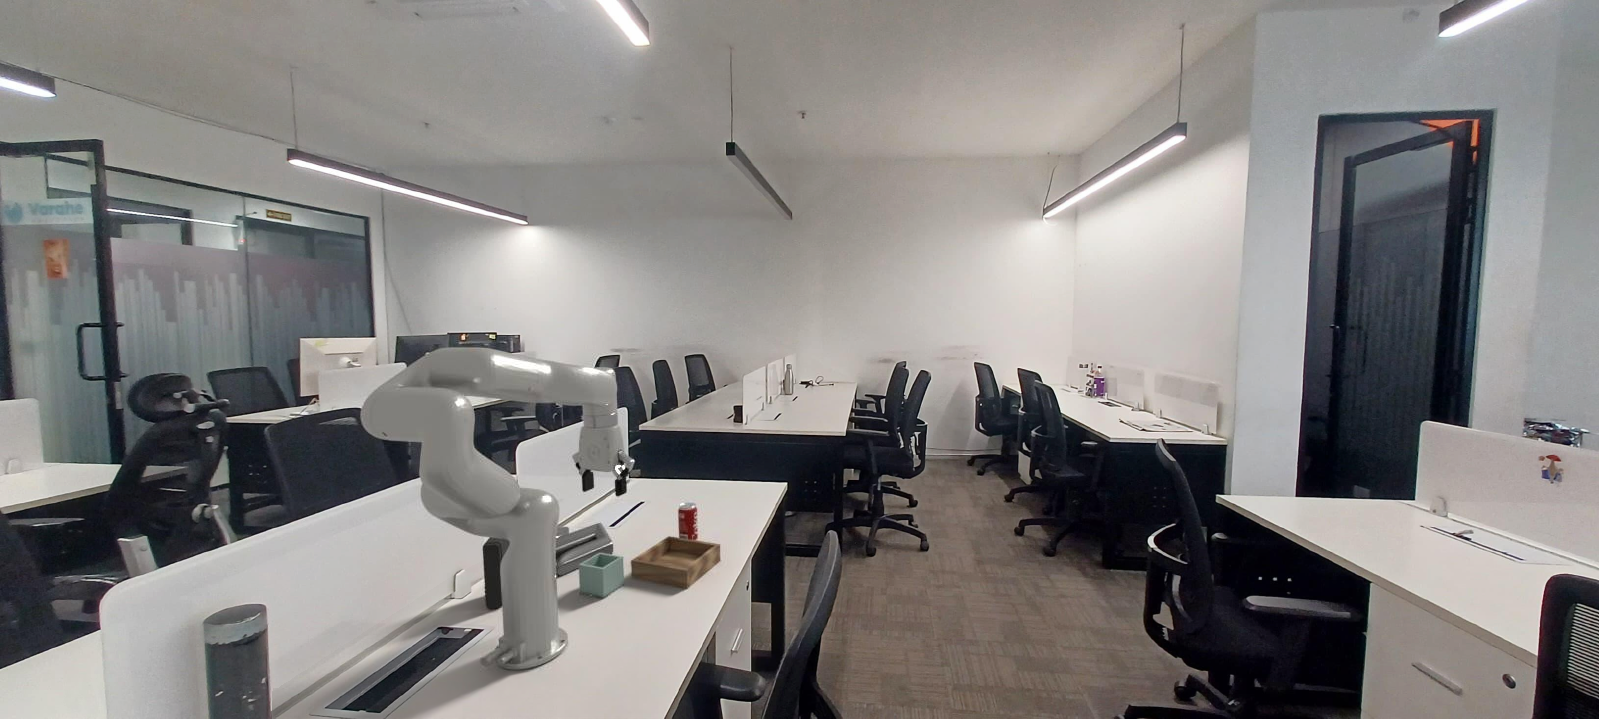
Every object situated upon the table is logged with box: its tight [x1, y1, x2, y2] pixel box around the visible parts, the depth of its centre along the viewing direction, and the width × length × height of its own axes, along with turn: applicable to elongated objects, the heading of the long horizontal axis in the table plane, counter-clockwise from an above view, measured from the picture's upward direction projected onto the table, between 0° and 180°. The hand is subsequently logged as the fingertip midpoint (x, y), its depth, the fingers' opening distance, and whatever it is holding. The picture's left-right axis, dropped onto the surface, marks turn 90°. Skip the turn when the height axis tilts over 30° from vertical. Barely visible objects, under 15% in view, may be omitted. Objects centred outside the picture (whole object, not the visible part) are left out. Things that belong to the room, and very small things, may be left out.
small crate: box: [578, 553, 625, 599], centre depth 129 cm, size 7×7×7 cm
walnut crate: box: [630, 535, 721, 590], centre depth 139 cm, size 16×16×4 cm
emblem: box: [555, 522, 614, 576], centre depth 148 cm, size 28×5×28 cm
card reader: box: [482, 537, 510, 610], centre depth 124 cm, size 9×4×15 cm, turn 14°
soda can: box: [677, 502, 699, 541], centre depth 152 cm, size 5×5×12 cm
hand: (604, 492), depth 128 cm, fingers open, 9 cm apart
